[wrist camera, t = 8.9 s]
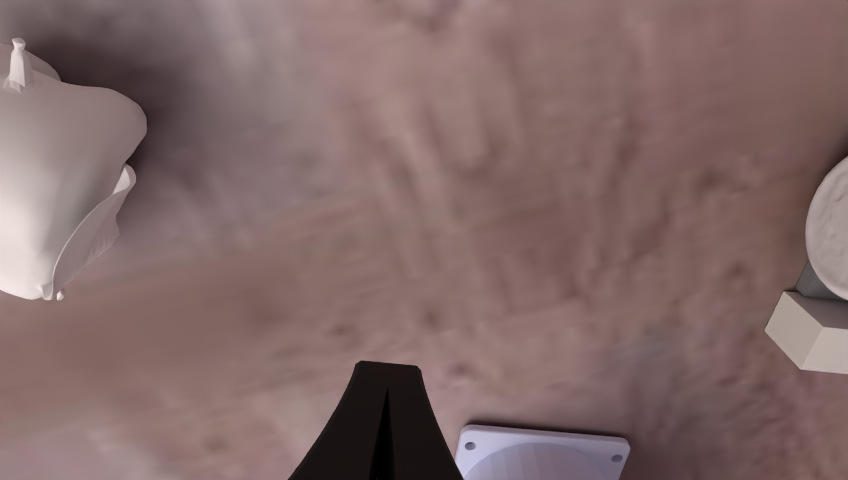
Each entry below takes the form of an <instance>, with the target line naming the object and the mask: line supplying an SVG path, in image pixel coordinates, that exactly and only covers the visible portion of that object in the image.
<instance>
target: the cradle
mask: <svg viewBox="0 0 848 480" xmlns="http://www.w3.org/2000/svg"><path fill="white" fill-rule="evenodd" d="M795 288H796V289H797V290H798V291H799V292H800V293H797V292H788V291H783V293H782V296H781V298H780V300H779V302H778V304H777V306H776V308H775V310H774V312H773V314H772V316H771V318H770V320H769V322H768V324H767V326H766V328H765V330H764V331H765V332H766V333H767V334H768V335H769V336H770V337H771V339H772V340H773V341H774V342H775V343H776V344H777V345H778V346H779V347H780V348H781V349H782V350H783V351H784V352H785V354H786V355H787V356H788V357H789V358H790V359H791V360H792V361H793V362H794V363H795V364H796V365H797V366H798V367H799V369H801V370H811V371H822V372H832V373H842V374H848V300H846V299H844V298H841V297H840V296H838V295H836V294H835V293H833V292H832V291H831V290H830V289H828V288H827V287H826V285H825V284H824V283H823V282H822V281H821V280H820V279H819V278H818V276H817V274H816V272H815V271H814V269H813V267H812V265H811V263H810V260H809V261H808V263H807V265H806V267H805V269H804V271H803V273H802V275H801V277H800V279H799V281H798V283H797V285H796V287H795Z"/></svg>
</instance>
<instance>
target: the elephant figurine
mask: <svg viewBox="0 0 848 480" xmlns="http://www.w3.org/2000/svg"><path fill="white" fill-rule="evenodd" d="M12 41H13V43H14V46H12V45H7V44H3V43H0V290H2V291H5V292H7V293H9V294H12V295H16V296H19V297H22V298H26V299H37V298H40V297H42V296H43V299H45V300H50V299H52V298H54V297H55V296H56V295H57V300H62V299H63V297H64V292H65V289H64V288H63V287H64V286H65V285H66V284H67V283H69V282H70V281H71V280H73V279H74V278H75V277H76V275H77V274H78V273H79V272H80V271H81V270H83V269H84V268H85V267H86V266H87V265H88V264H89V263H91V262H92V261H93V260H94V259H95V258H97V257H98V256H99V255H101V254H102V253H103V252H104V251H106V250H107V249H108V248H109V247H111V246H112V245H113V243H114V242H115V241H116V239H117V238H118V237H119V228H118V225H117V222H116V214H117V213H118V212H119V210H120V208H121V206H122V204H123V202H124V200H125V198H126V196H127V194H128V192H129V191H130V190H131V189H132V187H133V186H134V184H135V183H136V175H135V172H134V170H133V169H132V168H131V167H130V166H129V165H127V164H126V163H125V162H126V160H127V159H128V158H129V157H130V156H131V155H132V154H133V152H134V151H135V149H136V148H137V146H138V145H139V143H140V142H141V140H142V139H143V138H144V137H145V135H146V133H147V119H146V116H145V114H144V112H143V110H142V108H141V107H140V106H139V105H138V104H137V103H135V102H134V101H132V100H131V99H130V98H128V97H126V96H124V95H123V94H121V93H119V92H117V91H115V90H112V89H109V88H102V87H88V86H79V85H72V84H68V83H64V82H61V80H60V77H59V75H58V73H57V72H56V71H55V70H54V69H53V68H52V67H51V66H50V65H49V64H48V63H47V62H45V61H43V60H42V59H40V58H38V57H37V56H35V55H33V54H31V53H30V52H28V51H26V50H24V48H25V46H26V43H25V41H24V40H23V39H21V38H14V39H12Z"/></svg>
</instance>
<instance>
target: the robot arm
mask: <svg viewBox="0 0 848 480" xmlns="http://www.w3.org/2000/svg"><path fill="white" fill-rule="evenodd" d="M468 442H473V443H471V444H468ZM629 452H630V446H629V444H628V442H627V440H626V439H624V438H620V437H609V436H597V435H586V434H575V433H563V432H552V431H541V430H529V429H518V428H506V427H495V426H484V425H467V426H465V427H464V428H462V430H461V433H460V438H459V443H458V447H457V452H456V457H455V461H454V459H453V457H452V455H451V453H450V450H449V448H448V446H447V444H446V442H445V439H444V437H443V435H442V432H441V430H440V428H439V425H438V423H437V421H436V418H435V416H434V413H433V410H432V407H431V405H430V402H429V399H428V396H427V393H426V389H425V386H424V382H423V378H422V373H421V370H420V369H419V368H418V367H417V366H414V365H403V364H393V363H382V362H371V361H360V362H358V363H357V364H355V368H354V371H353V374H352V377H351V379H350V382H349V384H348V386H347V388H346V390H345V392H344V394H343V396H342V398H341V400H340V402H339V404H338V406H337V407H336V409H335V411H334V412H333V414H332V416H331V418H330V419H329V421H328V423H327V424H326V426H325V428H324V429H323V431H322V432H321V434H320V436H319V437H318V438H317V440H316V441H315V443H314V444H313V446H312V447H311V449H310V450H309V452H308V453H307V454H306V456H305V457H304V459H303V460H302V462H301V463H300V464H299V466H298V467H297V468H296V470H295V471H294V472H293V474H292V475H291V476H290V477H289V479H288V480H619V477H620V475H621V472H622V470H623V467H624V465H625V462H626V460H627V457H628V455H629ZM614 455H616V456H614Z"/></svg>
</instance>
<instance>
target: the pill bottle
mask: <svg viewBox="0 0 848 480" xmlns="http://www.w3.org/2000/svg"><path fill="white" fill-rule="evenodd" d="M805 236H806V248H807V253H808V257H809V260H810V263H811V265H812V267H813V269H814V271H815V272H816V274H817V276H818V278H819V279H820V280H821V281H822V282H823V283H824V284H825V285H826V287H827V288H828V289H830V290H831V291H832V292H833V293H835V294H836V295H838V296H840V297H841V298H844V299H846V300H848V156H847V157H846V158H845V159H843V160H842V161H841V162H839V163H838V164H837V165H836V166H835V167H834V168H833V169H832V170H831V171H830V172H829V173H828V174H827V175H826V176H825V178H824V179H823V181H822V182H821V184H820V185H819V187H818V189H817V191H816V193H815V195H814V197H813V199H812V202H811V204H810V207H809V211H808V216H807V220H806V230H805Z"/></svg>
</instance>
